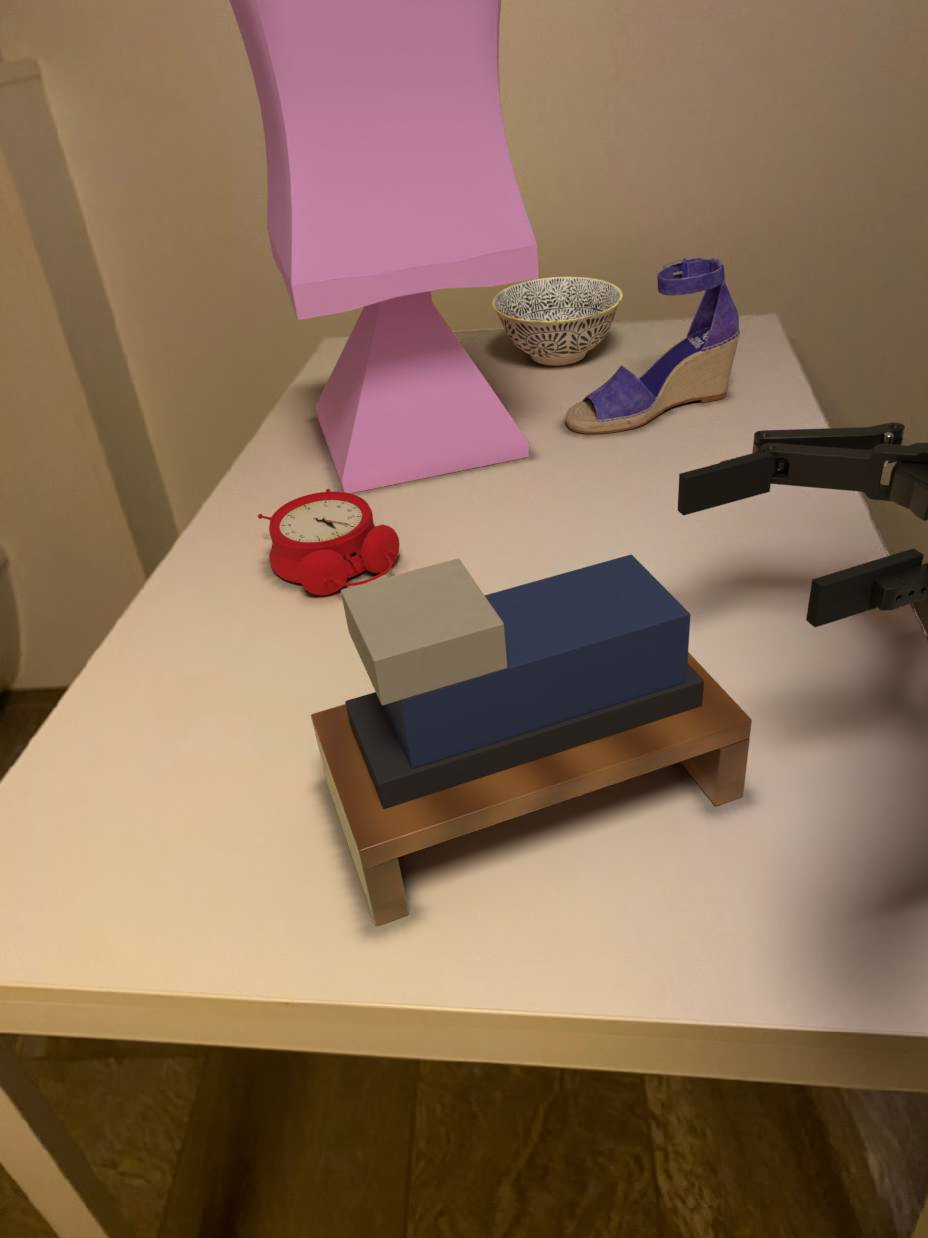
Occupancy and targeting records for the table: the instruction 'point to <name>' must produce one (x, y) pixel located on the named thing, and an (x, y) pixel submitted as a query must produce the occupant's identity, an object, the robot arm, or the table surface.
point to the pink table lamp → (391, 216)
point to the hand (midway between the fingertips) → (740, 544)
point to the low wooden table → (521, 785)
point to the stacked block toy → (509, 669)
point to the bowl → (557, 316)
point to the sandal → (671, 358)
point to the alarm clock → (329, 541)
